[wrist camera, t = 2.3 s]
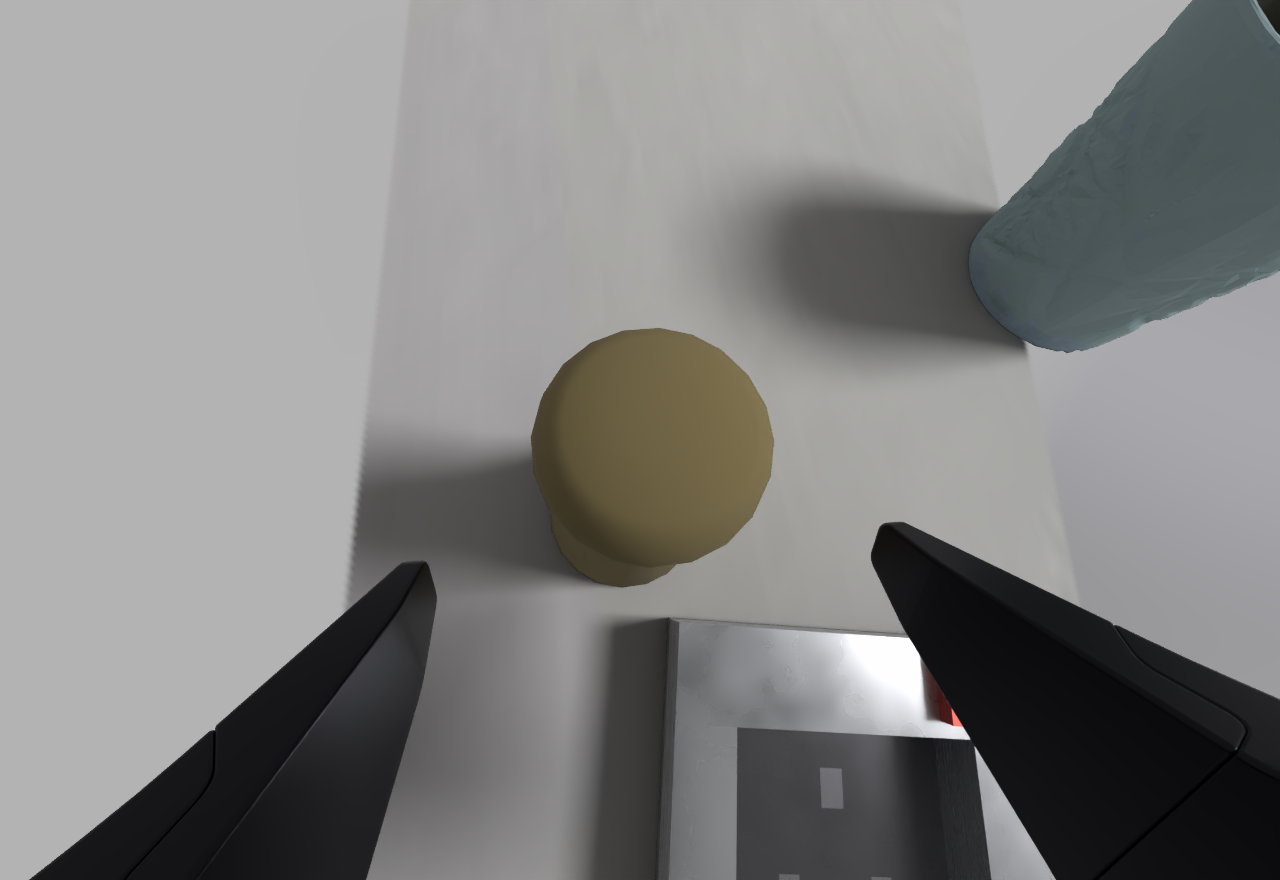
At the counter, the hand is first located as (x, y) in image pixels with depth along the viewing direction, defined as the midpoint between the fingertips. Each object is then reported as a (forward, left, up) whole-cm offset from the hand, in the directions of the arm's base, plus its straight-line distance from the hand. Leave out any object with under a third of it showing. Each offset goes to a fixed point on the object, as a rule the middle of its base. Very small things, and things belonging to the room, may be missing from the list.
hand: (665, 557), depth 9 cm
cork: (+2, 0, -10) cm, 10 cm away
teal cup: (+16, -21, -10) cm, 28 cm away
